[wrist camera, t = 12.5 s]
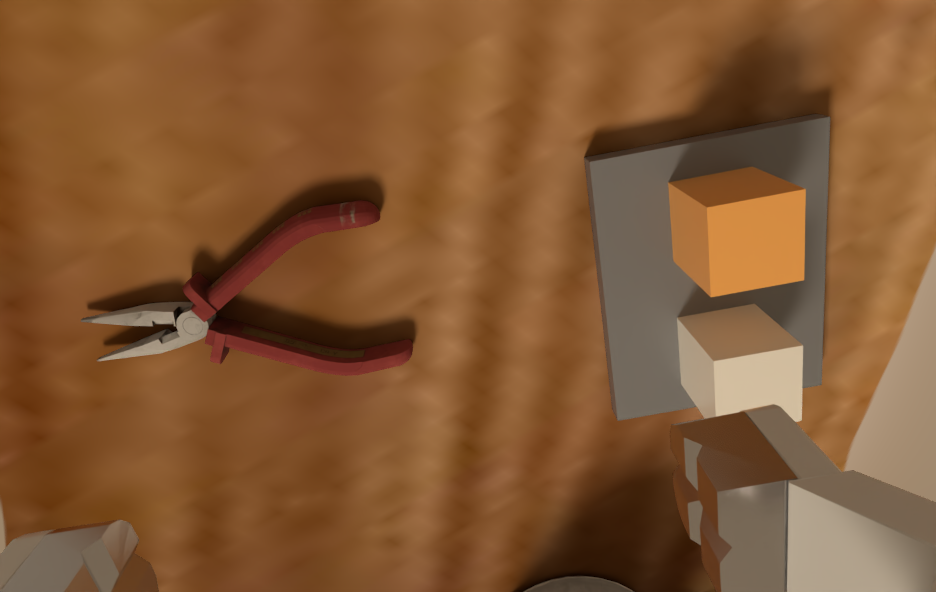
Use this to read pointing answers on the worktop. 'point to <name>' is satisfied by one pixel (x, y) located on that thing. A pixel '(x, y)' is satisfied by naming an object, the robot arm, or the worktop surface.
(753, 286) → the orange matte cube
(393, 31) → the worktop surface
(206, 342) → the pliers
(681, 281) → the plate
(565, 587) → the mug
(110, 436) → the worktop surface
